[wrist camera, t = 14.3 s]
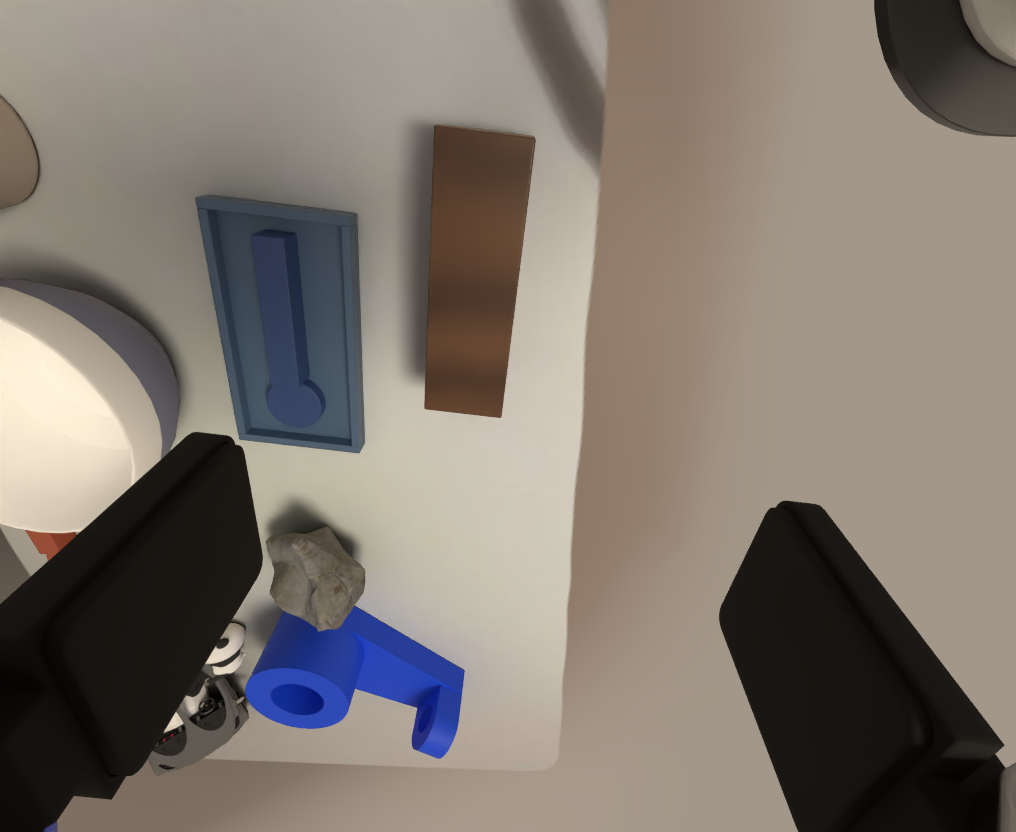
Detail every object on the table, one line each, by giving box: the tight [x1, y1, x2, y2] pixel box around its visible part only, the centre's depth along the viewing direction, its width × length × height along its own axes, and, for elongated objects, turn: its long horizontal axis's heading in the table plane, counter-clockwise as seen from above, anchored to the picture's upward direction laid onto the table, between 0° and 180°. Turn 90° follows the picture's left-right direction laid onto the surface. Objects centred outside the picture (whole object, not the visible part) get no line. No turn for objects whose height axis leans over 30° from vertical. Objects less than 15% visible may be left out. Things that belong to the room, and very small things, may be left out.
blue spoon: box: [251, 229, 326, 428], centre depth 34 cm, size 14×4×2 cm, turn 174°
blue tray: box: [195, 195, 365, 453], centre depth 35 cm, size 17×9×2 cm, turn 174°
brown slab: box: [424, 125, 536, 418], centre depth 31 cm, size 16×5×5 cm, turn 174°
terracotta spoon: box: [25, 530, 76, 561], centre depth 44 cm, size 14×4×2 cm, turn 0°
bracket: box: [245, 606, 464, 759], centre depth 49 cm, size 20×9×8 cm, turn 55°
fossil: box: [266, 527, 365, 632], centre depth 42 cm, size 11×9×8 cm
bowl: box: [0, 279, 180, 533], centre depth 33 cm, size 16×16×10 cm
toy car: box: [147, 623, 249, 776], centre depth 53 cm, size 18×12×9 cm
